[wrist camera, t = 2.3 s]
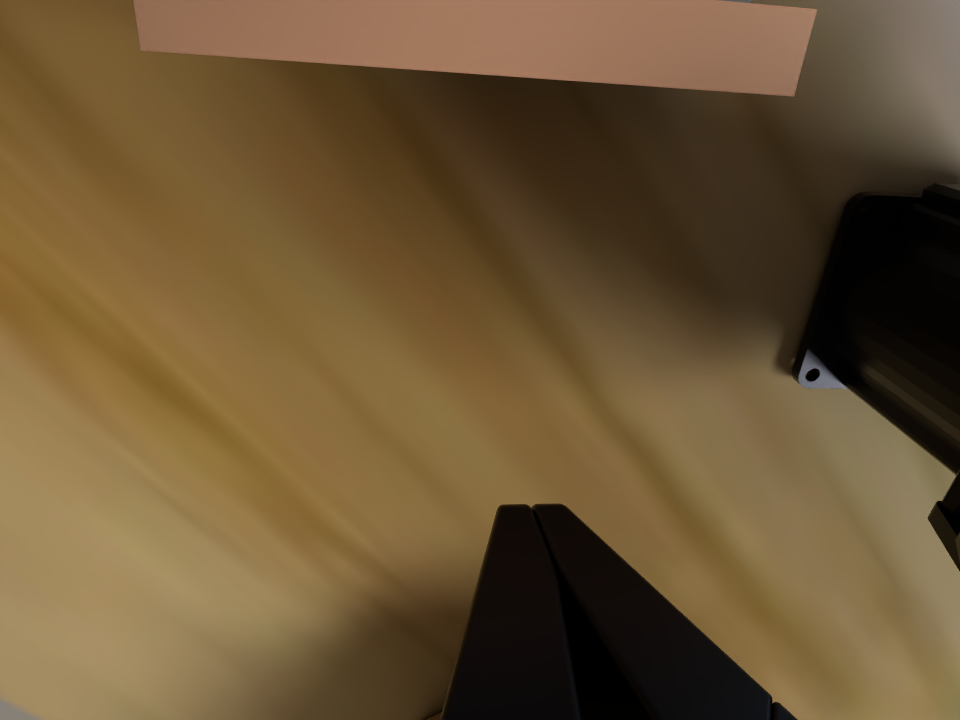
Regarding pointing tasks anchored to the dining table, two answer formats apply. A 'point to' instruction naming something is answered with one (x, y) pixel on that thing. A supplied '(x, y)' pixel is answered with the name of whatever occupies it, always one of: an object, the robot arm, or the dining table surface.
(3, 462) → the dining table surface
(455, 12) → the tray
